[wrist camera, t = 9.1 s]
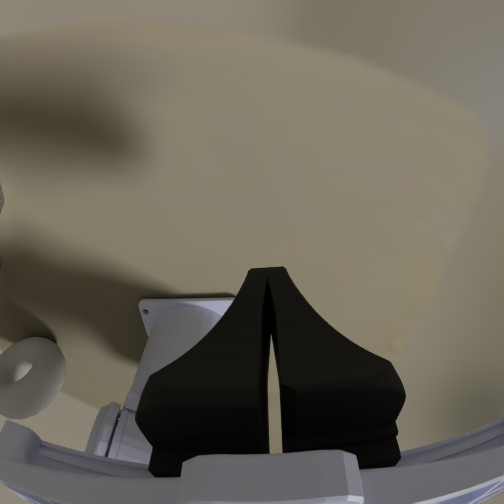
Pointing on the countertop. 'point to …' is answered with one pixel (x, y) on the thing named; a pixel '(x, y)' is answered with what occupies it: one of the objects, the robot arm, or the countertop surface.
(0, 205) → the ring
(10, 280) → the countertop surface
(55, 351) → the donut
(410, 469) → the robot arm
